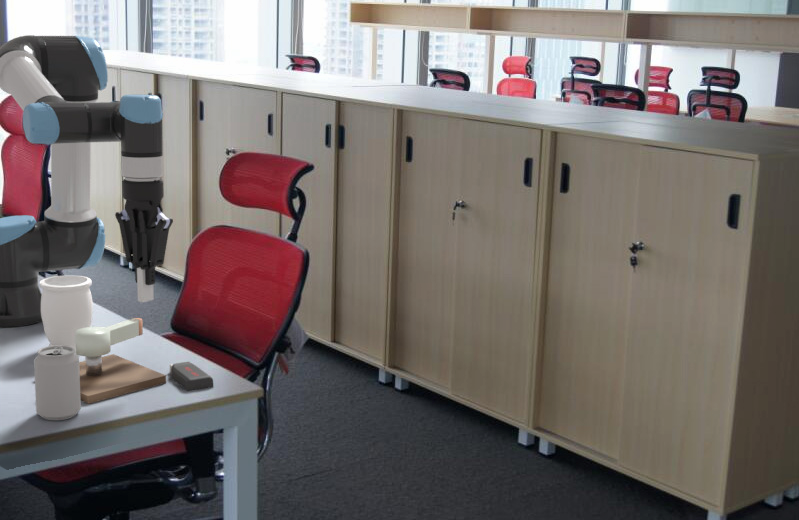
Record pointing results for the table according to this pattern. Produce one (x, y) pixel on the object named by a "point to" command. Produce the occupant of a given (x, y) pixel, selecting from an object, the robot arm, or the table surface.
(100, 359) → the stud
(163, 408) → the table surface
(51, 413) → the can
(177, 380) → the usb drive
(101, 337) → the tan-tipped lever stick
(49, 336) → the jar
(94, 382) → the base plate
